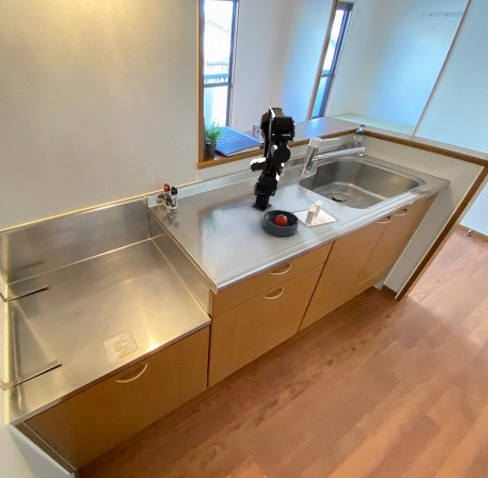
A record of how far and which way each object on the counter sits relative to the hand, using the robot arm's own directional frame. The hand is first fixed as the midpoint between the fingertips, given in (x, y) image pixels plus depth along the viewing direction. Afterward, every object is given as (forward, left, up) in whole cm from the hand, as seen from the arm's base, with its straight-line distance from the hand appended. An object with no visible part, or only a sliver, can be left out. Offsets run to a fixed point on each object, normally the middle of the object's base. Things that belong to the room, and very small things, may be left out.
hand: (268, 192), depth 108 cm
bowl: (+2, +9, -12) cm, 15 cm away
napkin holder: (-16, +15, -12) cm, 25 cm away
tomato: (+2, +9, -11) cm, 14 cm away
